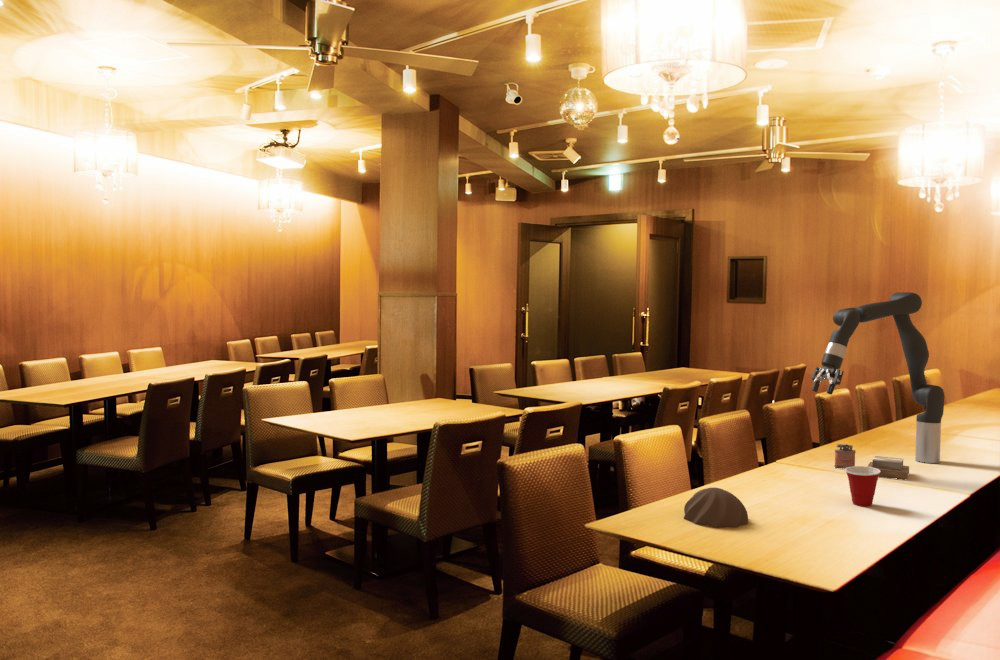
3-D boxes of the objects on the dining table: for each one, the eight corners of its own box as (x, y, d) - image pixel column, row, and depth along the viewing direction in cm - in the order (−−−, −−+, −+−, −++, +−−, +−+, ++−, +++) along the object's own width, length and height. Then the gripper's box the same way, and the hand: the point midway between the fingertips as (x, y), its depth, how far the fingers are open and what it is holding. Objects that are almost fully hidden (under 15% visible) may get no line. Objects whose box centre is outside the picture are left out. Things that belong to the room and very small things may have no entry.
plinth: (870, 469, 304) (870, 454, 304) (909, 473, 297) (909, 458, 297) (866, 475, 293) (866, 460, 292) (906, 480, 285) (906, 464, 285)
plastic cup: (836, 501, 252) (837, 466, 252) (860, 499, 256) (861, 464, 256) (862, 510, 242) (863, 473, 242) (887, 507, 246) (888, 471, 246)
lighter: (853, 467, 307) (853, 443, 307) (856, 469, 304) (857, 445, 303) (833, 467, 308) (833, 443, 308) (835, 468, 305) (836, 444, 304)
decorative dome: (705, 531, 218) (706, 497, 218) (671, 513, 237) (672, 481, 237) (762, 526, 224) (762, 493, 223) (724, 509, 243) (725, 478, 242)
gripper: (853, 359, 299) (841, 397, 297) (828, 357, 312) (816, 393, 311) (839, 353, 297) (826, 391, 295) (814, 351, 310) (802, 387, 309)
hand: (821, 392), depth 303 cm, fingers open, 8 cm apart
